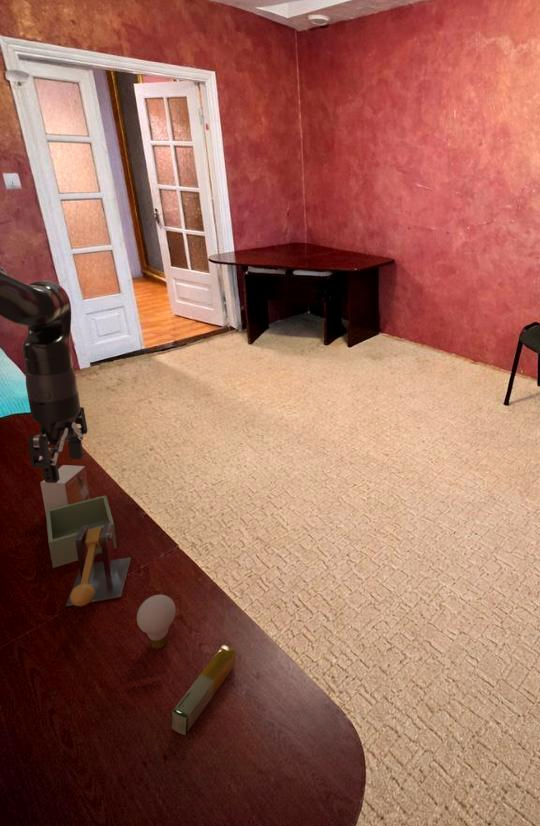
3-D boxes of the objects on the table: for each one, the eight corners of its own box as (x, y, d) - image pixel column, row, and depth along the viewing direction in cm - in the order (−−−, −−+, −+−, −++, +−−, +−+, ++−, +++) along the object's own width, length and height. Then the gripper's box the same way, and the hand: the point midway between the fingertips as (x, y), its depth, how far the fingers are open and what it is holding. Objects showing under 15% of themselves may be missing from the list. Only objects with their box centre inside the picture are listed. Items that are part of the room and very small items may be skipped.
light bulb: (154, 667, 80) (148, 620, 77) (133, 649, 83) (127, 603, 80) (185, 642, 85) (181, 596, 82) (164, 625, 87) (160, 581, 84)
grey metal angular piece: (121, 601, 92) (114, 545, 88) (66, 610, 89) (56, 554, 85) (131, 561, 102) (125, 510, 98) (82, 569, 99) (74, 516, 95)
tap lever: (94, 607, 84) (90, 597, 82) (70, 612, 83) (65, 601, 81) (108, 535, 95) (104, 525, 92) (87, 538, 93) (83, 528, 91)
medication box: (185, 737, 70) (185, 719, 69) (170, 729, 71) (170, 711, 69) (235, 665, 81) (236, 648, 80) (221, 659, 82) (222, 642, 80)
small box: (70, 523, 112) (64, 484, 108) (46, 521, 111) (39, 482, 108) (91, 503, 119) (86, 465, 116) (68, 501, 119) (62, 464, 116)
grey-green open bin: (50, 536, 107) (45, 510, 105) (109, 519, 114) (106, 495, 112) (53, 570, 98) (48, 542, 96) (117, 550, 105) (114, 524, 102)
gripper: (53, 377, 94) (64, 451, 99) (4, 407, 81) (20, 490, 86) (94, 379, 95) (103, 452, 100) (53, 408, 82) (65, 490, 87)
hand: (65, 469), depth 93 cm, fingers open, 8 cm apart
